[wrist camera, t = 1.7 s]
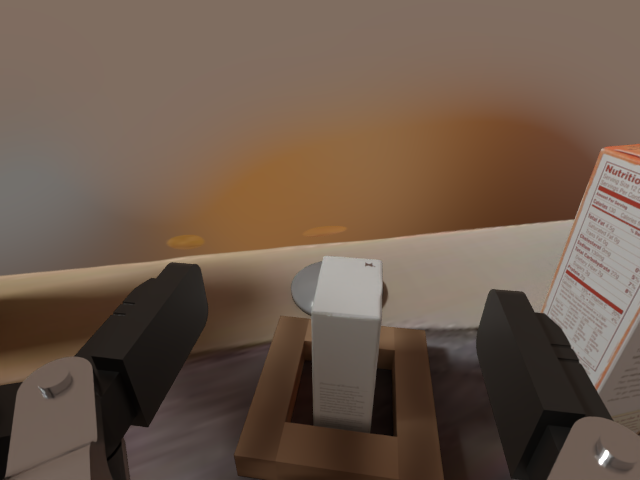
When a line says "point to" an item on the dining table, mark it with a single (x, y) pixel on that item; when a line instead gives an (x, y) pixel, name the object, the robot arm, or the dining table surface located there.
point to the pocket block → (335, 444)
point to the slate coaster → (306, 287)
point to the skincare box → (346, 342)
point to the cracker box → (605, 283)
